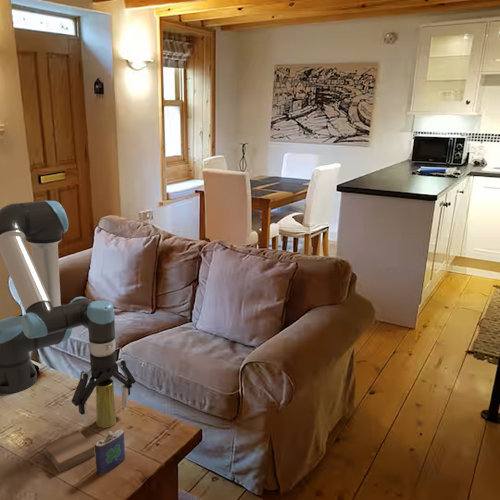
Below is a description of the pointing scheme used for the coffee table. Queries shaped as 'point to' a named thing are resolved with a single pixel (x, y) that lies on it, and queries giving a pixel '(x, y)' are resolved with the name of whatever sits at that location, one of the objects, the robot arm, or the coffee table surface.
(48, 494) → the coffee table surface
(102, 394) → the vase
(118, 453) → the flask
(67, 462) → the plinth
